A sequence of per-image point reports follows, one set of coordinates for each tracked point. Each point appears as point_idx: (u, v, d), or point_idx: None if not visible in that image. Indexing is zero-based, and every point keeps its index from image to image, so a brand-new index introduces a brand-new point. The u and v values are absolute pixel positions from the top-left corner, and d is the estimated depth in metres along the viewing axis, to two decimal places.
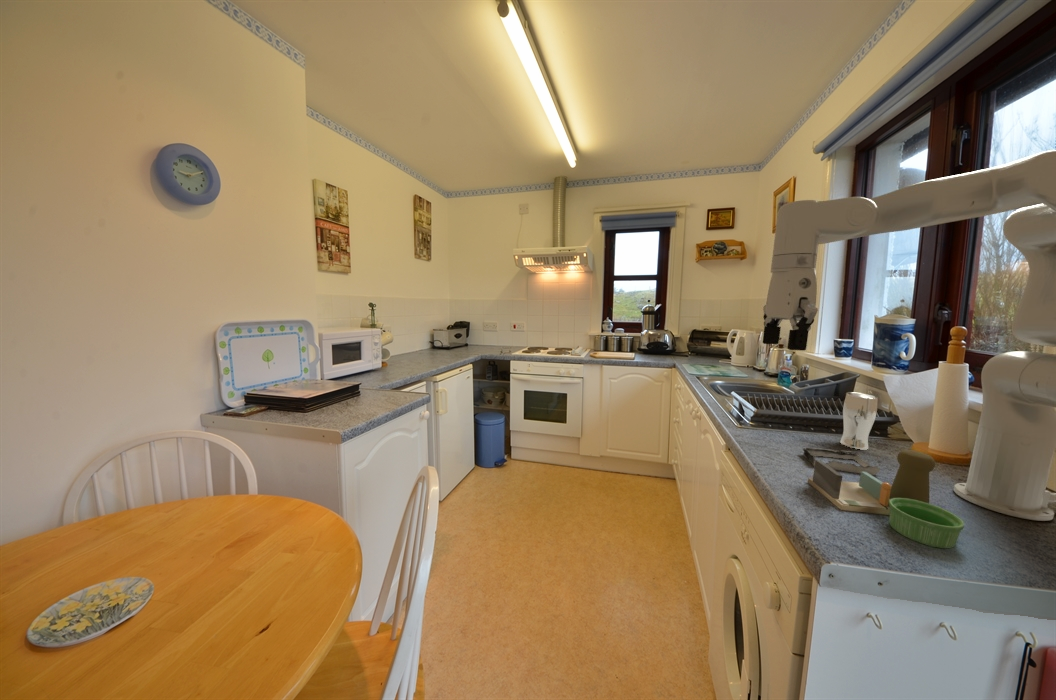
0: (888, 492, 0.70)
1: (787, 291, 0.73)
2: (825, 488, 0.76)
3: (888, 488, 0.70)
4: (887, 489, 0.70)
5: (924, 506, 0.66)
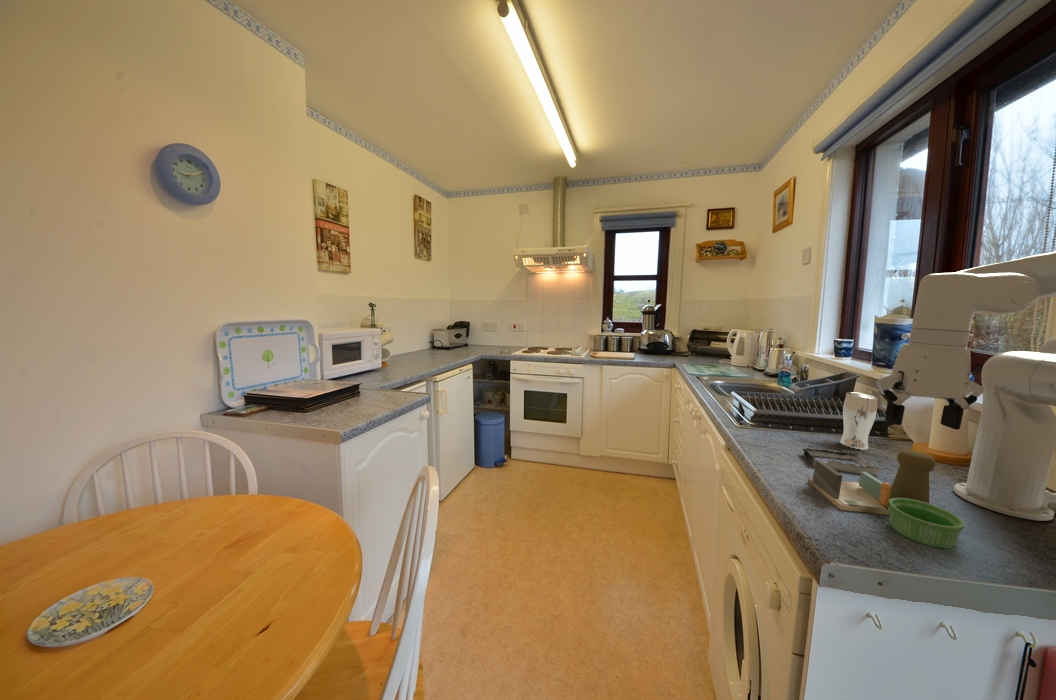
0: (888, 492, 0.70)
1: (964, 370, 0.67)
2: (825, 488, 0.76)
3: (888, 488, 0.70)
4: (887, 489, 0.70)
5: (924, 506, 0.66)
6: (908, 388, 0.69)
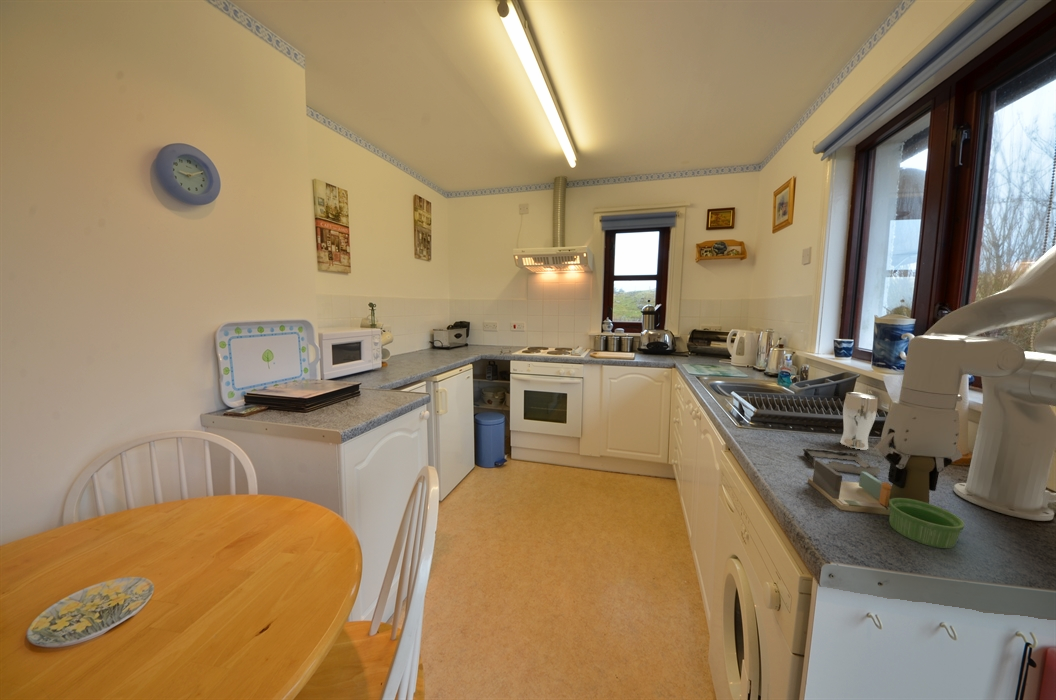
0: (888, 492, 0.70)
1: (952, 431, 0.69)
2: (825, 488, 0.76)
3: (888, 488, 0.70)
4: (887, 489, 0.70)
5: (925, 506, 0.66)
6: (898, 447, 0.71)
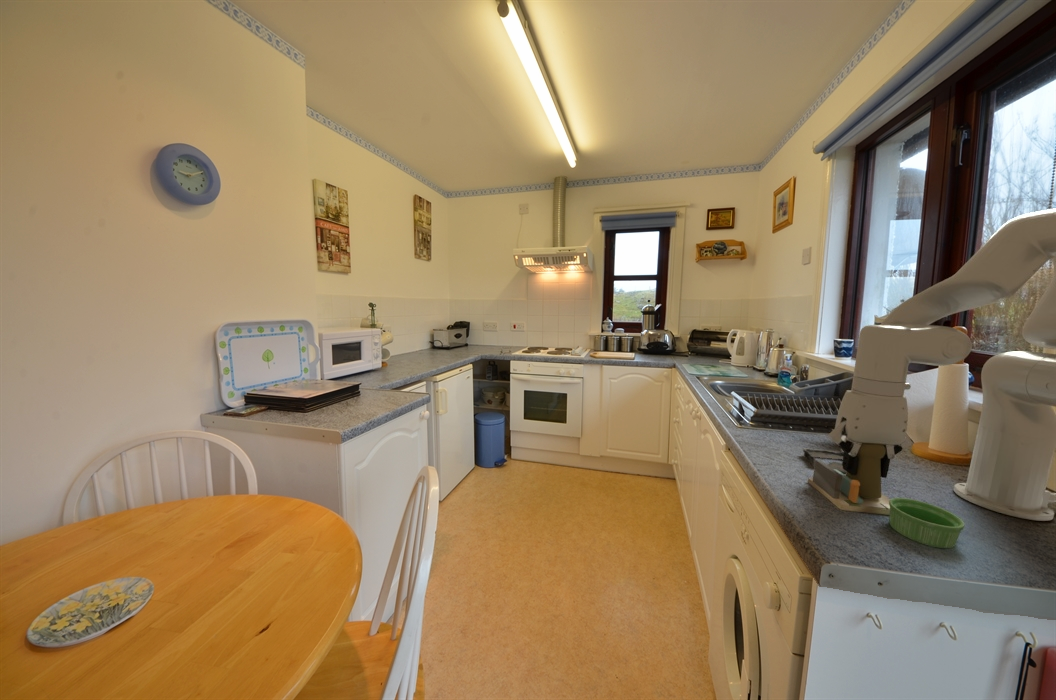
0: (857, 489, 0.71)
1: (901, 418, 0.70)
2: (825, 488, 0.76)
3: (857, 485, 0.70)
4: (856, 486, 0.71)
5: (925, 507, 0.66)
6: (850, 435, 0.72)
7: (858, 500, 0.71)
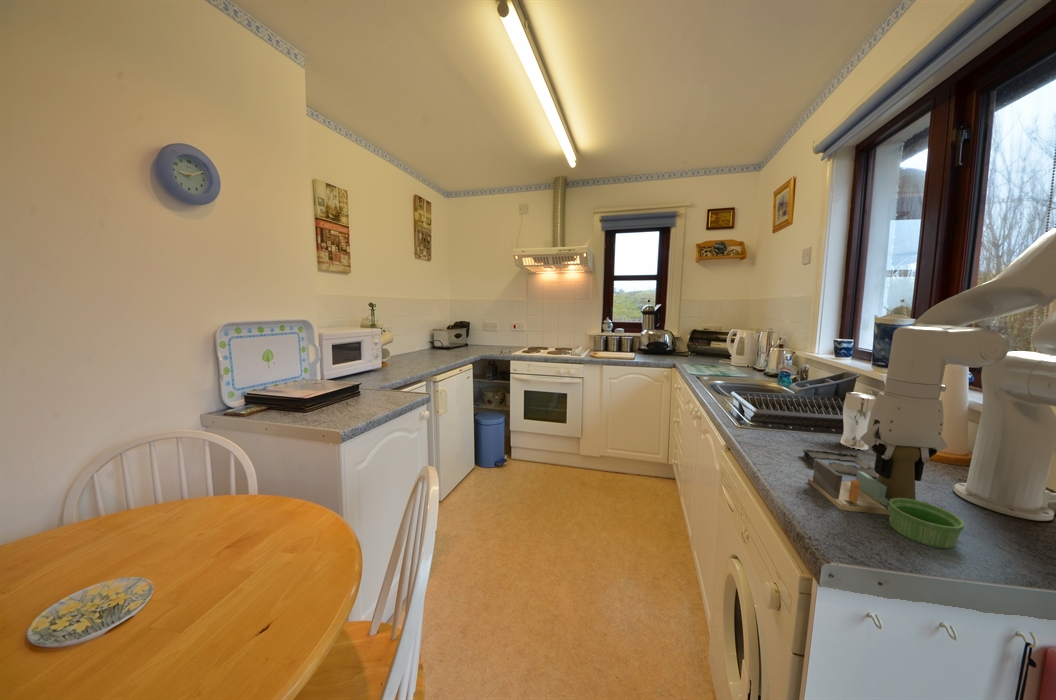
0: (857, 489, 0.71)
1: (937, 421, 0.69)
2: (825, 488, 0.76)
3: (857, 485, 0.70)
4: (856, 486, 0.71)
5: (925, 507, 0.66)
6: (884, 437, 0.71)
7: (887, 503, 0.70)
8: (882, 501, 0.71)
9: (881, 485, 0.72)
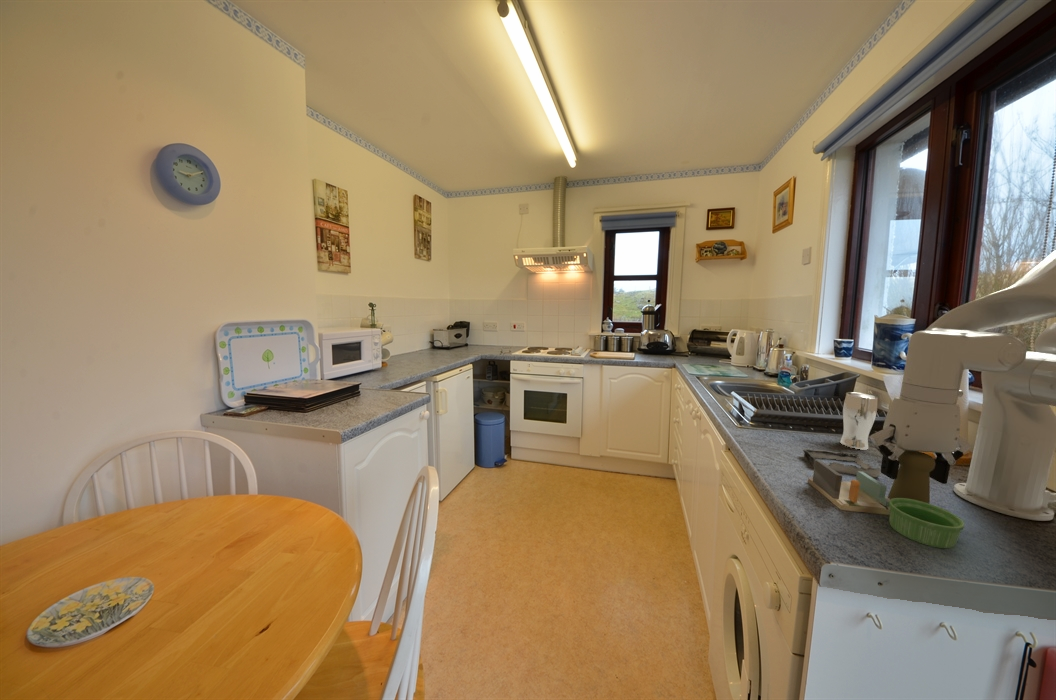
0: (857, 489, 0.71)
1: (953, 426, 0.69)
2: (825, 488, 0.76)
3: (857, 485, 0.70)
4: (856, 486, 0.71)
5: (925, 506, 0.66)
6: (899, 442, 0.71)
7: (887, 503, 0.70)
8: (882, 501, 0.71)
9: (881, 485, 0.72)
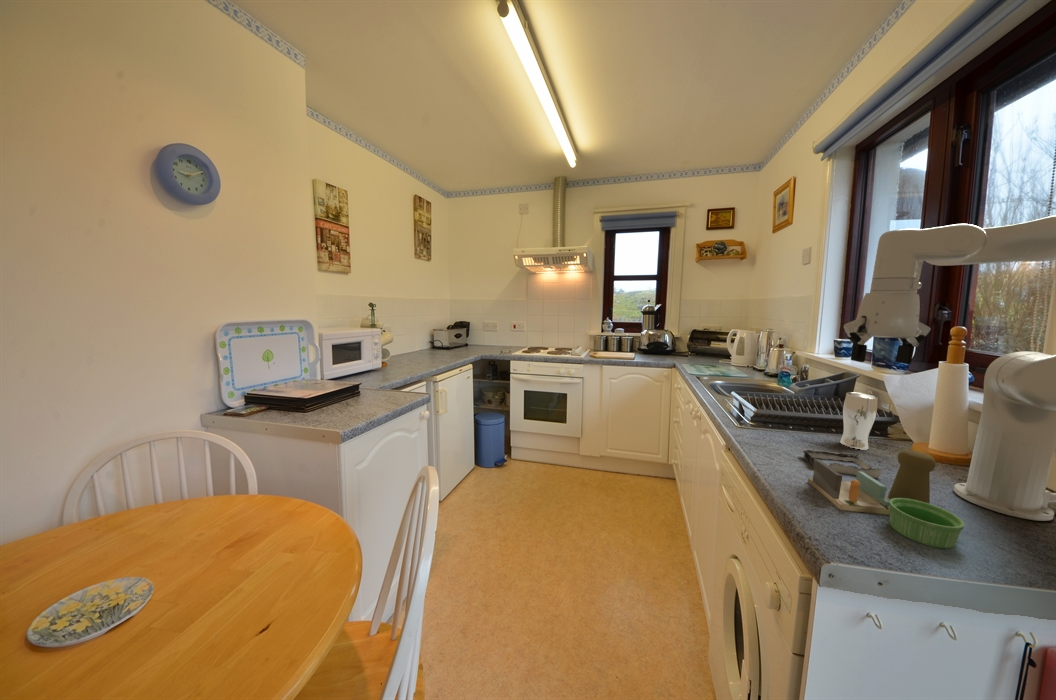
0: (857, 489, 0.71)
1: (914, 313, 0.79)
2: (825, 488, 0.76)
3: (857, 485, 0.70)
4: (856, 486, 0.71)
5: (925, 507, 0.66)
6: (870, 329, 0.81)
7: (887, 503, 0.70)
8: (882, 501, 0.71)
9: (881, 485, 0.72)
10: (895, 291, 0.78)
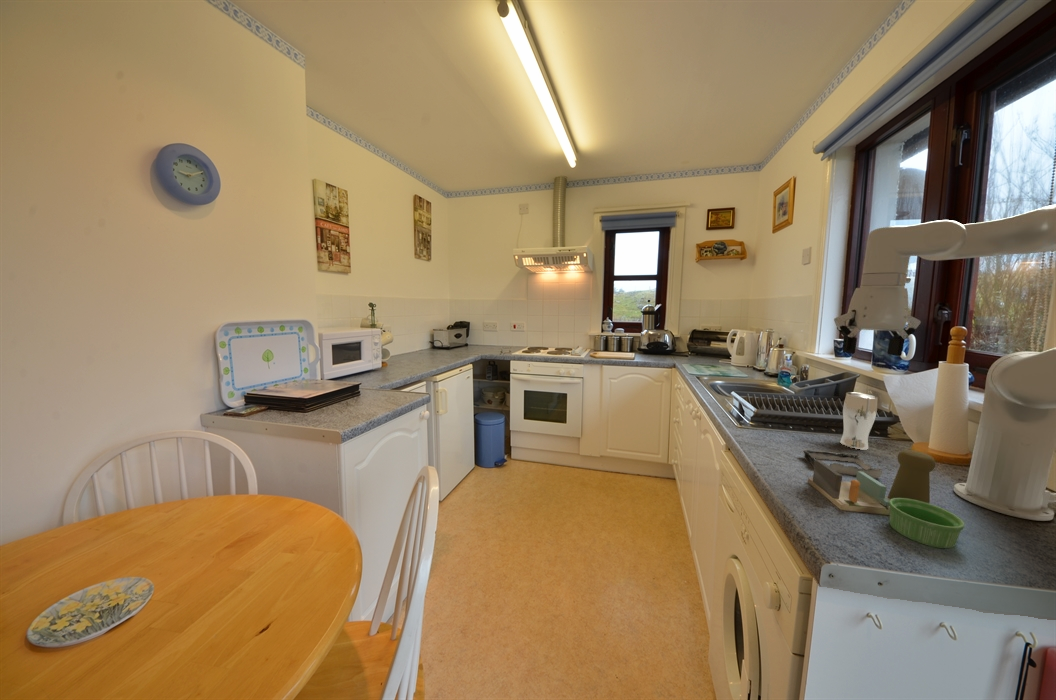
0: (857, 489, 0.71)
1: (902, 306, 0.83)
2: (825, 488, 0.76)
3: (857, 485, 0.70)
4: (856, 486, 0.71)
5: (925, 507, 0.66)
6: (859, 322, 0.85)
7: (887, 503, 0.70)
8: (882, 501, 0.71)
9: (881, 485, 0.72)
10: (882, 286, 0.82)
